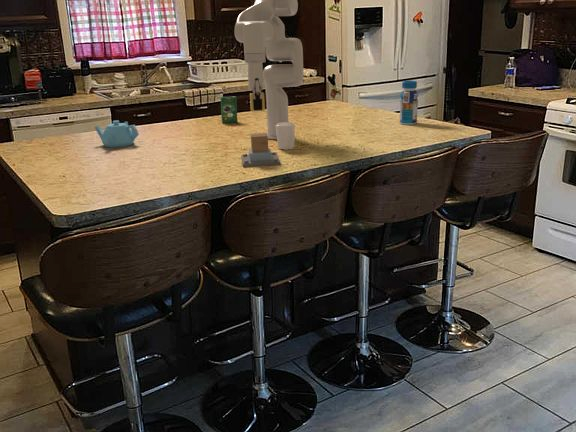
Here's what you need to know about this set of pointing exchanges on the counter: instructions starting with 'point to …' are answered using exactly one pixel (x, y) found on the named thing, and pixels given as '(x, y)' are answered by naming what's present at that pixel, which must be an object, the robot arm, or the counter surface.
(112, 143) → the teapot
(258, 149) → the walnut brick
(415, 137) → the counter surface
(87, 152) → the counter surface
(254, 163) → the build plate
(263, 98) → the mustard brick
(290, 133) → the white cup
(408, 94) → the blue capped bottle
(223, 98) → the coffee box
